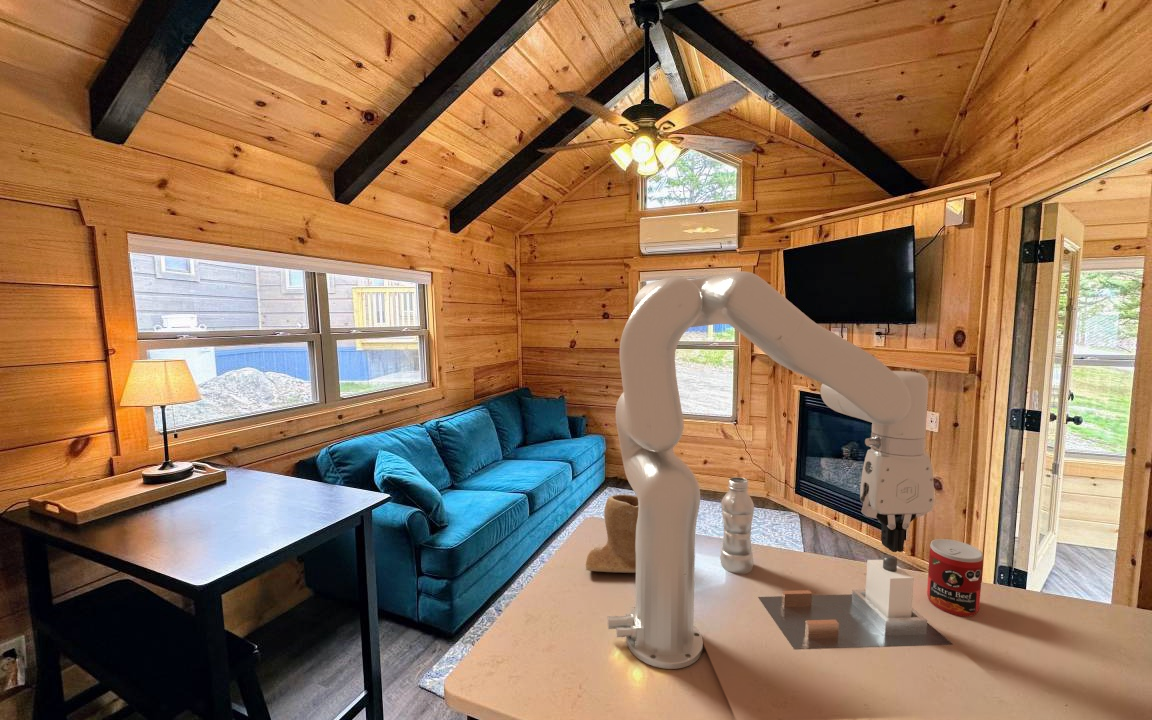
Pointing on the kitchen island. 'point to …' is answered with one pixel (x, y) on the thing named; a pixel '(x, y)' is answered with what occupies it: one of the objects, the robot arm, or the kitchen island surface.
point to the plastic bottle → (737, 527)
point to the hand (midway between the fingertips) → (892, 547)
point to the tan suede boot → (617, 537)
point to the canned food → (954, 577)
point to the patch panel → (845, 622)
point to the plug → (889, 587)
